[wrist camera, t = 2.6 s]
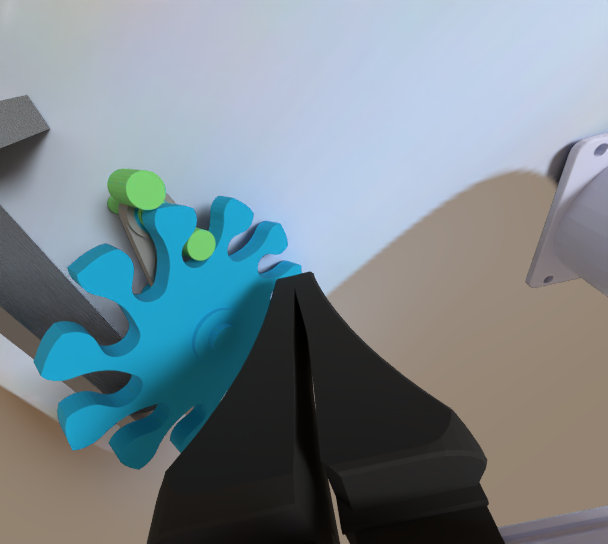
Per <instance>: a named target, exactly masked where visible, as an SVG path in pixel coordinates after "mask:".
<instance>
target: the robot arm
mask: <svg viewBox="0 0 608 544" xmlns="http://www.w3.org/2000/svg"><path fill="white" fill-rule="evenodd" d="M597 147H598V148H597ZM596 148H597V149H596ZM578 278H582V279H584V280H585V281H586V282H588V283H589V284H591V285H592V286H594V287H595V288H596V289H597V290H599V291H600V292H602V293H603V294H604V295H606V296H607V297H608V133H605V134H601V135H596V136H592V137H588V138H585V139H582V140H580V141H579V142H578V143H576V144H575V145H574V146H573V147H572V149H571V151H570V153H569V155H568V158H567V161H566V164H565V167H564V170H563V173H562V176H561V179H560V181H559V184H558V187H557V190H556V193H555V196H554V199H553V202H552V205H551V208H550V211H549V214H548V217H547V219H546V222H545V225H544V228H543V231H542V234H541V237H540V240H539V243H538V246H537V249H536V251H535V254H534V257H533V260H532V263H531V266H530V269H529V272H528V275H527V278H526V283H527V284H528V285H529V286H530V287H532V288H537V287H542V286H546V285H551V284H555V283H560V282H564V281H569V280H573V279H578ZM312 376H313V379H312ZM313 385H314V393H313ZM314 395H315V401H314ZM315 404H316V408H315ZM486 465H487V458H486V457H485V455H484V453H483V451H482V449H481V447H480V446H479V444H478V443H477V441H476V440H475V438H474V437H473V435H472V434H471V432H470V431H469V430H468V429H467V427H466V426H465V424H464V423H463V422H462V421H461V419H460V418H459V417H458V416H457V414H456V413H455V412H454V411H453V410H452V409H451V408H449V407H448V406H446V405H445V404H443V403H442V402H440V401H439V400H437V399H436V398H434V397H433V396H431V395H430V394H428V393H427V392H425V391H424V390H423V389H421V388H420V387H418V386H417V385H416V384H414V383H413V382H411V381H410V380H409V379H408V378H406V377H405V376H403V375H402V374H401V373H400V372H398V371H397V370H396V369H395V368H394V367H392V366H391V365H390V364H389V363H388V362H386V361H385V360H384V359H382V358H381V357H380V356H379V355H378V354H377V353H376V352H374V351H373V350H372V349H371V348H370V347H369V346H368V345H367V344H366V343H365V342H364V341H363V340H362V339H361V338H360V337H359V336H358V335H357V334H356V333H355V332H354V331H353V330H352V329H351V328H350V327H349V326H348V324H347V323H346V322H345V321H344V320H343V319H342V317H341V316H340V315H339V314H338V313H337V311H336V310H335V309H334V307H333V306H332V305H331V303H330V302H329V301H328V299H327V298H326V296H325V295H324V293H323V292H322V290H321V289H320V287H319V285H318V283H317V281H316V279H315V277H314V273H312V272H306V273H301V274H297V275H293V276H288V277H284V278H280V279H277V280H276V282H275V286H274V290H273V294H272V298H271V301H270V304H269V307H268V310H267V313H266V315H265V318H264V321H263V324H262V326H261V328H260V331H259V333H258V335H257V338H256V340H255V342H254V344H253V347H252V349H251V351H250V353H249V355H248V357H247V359H246V360H245V362H244V364H243V366H242V368H241V370H240V371H239V373H238V375H237V376H236V378H235V380H234V381H233V383H232V385H231V386H230V388H229V389H228V391H227V393H226V394H225V396H224V397H223V399H222V400H221V402H220V403H219V404H218V406H217V407H216V409H215V410H214V411H213V413H212V414H211V416H210V417H209V418H208V420H207V421H206V422H205V424H204V425H203V427H202V428H201V429H200V431H199V432H198V433H197V434H196V436H195V437H194V438H193V439H192V441H191V442H190V443H189V444H188V445H187V447H186V448H185V449H184V450H183V452H182V453H181V454H180V455H179V456H178V458H177V459H176V460H175V461H174V463H173V464H172V465H171V466H170V467H169V469H167V471H166V472H165V475H164V479H163V482H162V485H161V488H160V490H159V494H158V498H157V501H156V505H155V510H154V514H153V518H152V523H151V527H150V531H149V536H148V540H147V544H340V541H339V536H338V530H337V525H336V520H335V515H334V509H333V504H332V498H331V493H330V488H329V482H330V484H331V486H332V489H333V491H334V493H335V495H336V500H337V506H338V512H339V518H340V524H341V530H342V534H343V535H344V534H345V535H346V537H347V539H348V540H349V543H350V544H608V506H603V507H598V508H593V509H588V510H583V511H578V512H573V513H568V514H563V515H558V516H553V517H548V518H543V519H538V520H533V521H528V522H523V523H518V524H513V525H508V526H503V527H498V528H497V526H496V524H495V522H494V520H493V518H492V516H491V513H490V512H489V509H488V507H487V505H488V504H489V503H488V499H487V497H486V495H485V493H484V491H483V489H482V487H481V485H480V483H479V481H480V479H481V477H482V475H483V473H484V471H485V469H486ZM328 479H329V482H328Z"/></svg>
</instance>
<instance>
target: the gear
mask: <svg viewBox="0 0 608 544" xmlns="http://www.w3.org/2000/svg"><path fill="white" fill-rule="evenodd" d="M107 186H108V191H109V193H110V195H111V197H110V198H109V199H108V201H107V205H108V208H109V209H110V210H111V211H112V212H113V213H116V214H119V217H120V220H121V222H122V224H123V227H124V229H125V231H126V233H127V236H128V238H129V240H130V242H131V244H132V247H133V249H134V251H135V253H136V256H137V258H138V260H139V262H140V264H141V267H142V269H143V271H144V273H145V276H146V278H147V280H148V282H149V284H148V285H147V286H145V287H144V288H143V290H142V292H141V294H133V292H132V281H133V275H134V266H133V262H132V261H131V259H130V257H129V256H128V255H127V254H126V253H124V252H123V251H121V250H119V249H117V248H115V247H113V246H111V245H109V244H106V243H105V244H102V245H99V246H97V247H95V248H93V249H91V250H89V251H87V252H86V253H85V254H83V255H82V256H80V257H79V258H78V259H77V260H75V261H74V262H73V263H72V264H71V265H70V266H68V267H67V268H68V272H69V274H70V276H71V278H72V279H73V280H74V281H75V282H77V283H78V284H79V285H80V286H81V287H82V288H84V289H85V290H86V291H87V292H89V293H91V294H93V295H98V296H102V297H105V298H108V299H110V300H113V301H115V302H116V303H118V305H119V306H120V308H121V309H122V310H123V312H124V314H125V316H126V318H127V320H128V322H129V330H128V332H127V334H126V336H125V337H124V338H123V339H122V340H121V341H119V342H118V343H116V344H113V345H109V346H102V345H98V343H97V342H96V340H95V339H94V338H93V337H92V336H91V335H90V334H89V333H88V331H87V330H86V329H85V328H84V327H83V326H81V325H80V324H78V323H75V322H70V321H61V322H56V323H54V324H53V325H52V326H51V327H50V328H49V329H48V330H47V332H46V333H45V335H44V336H43V338H42V340H41V342H40V345H39V347H38V349H37V353H36V356H35V359H34V364H35V366H36V368H37V369H38V371H39V373H40V375H41V376H42V377H43V378H45V379H48V380H52V381H63V380H68V379H72V378H74V377H77V376H80V375H83V374H87V373H91V372H95V371H103V370H117V371H122V372H126V373H130V374H132V376H131V379H130V381H129V382H128V384H127V385H126V386H125V387H124V388H123V389H121V390H120V391H118V392H116V393H113V394H101V393H97V392H93V391H81V392H77V393H74V394H72V395H70V396H68V397H66V398H65V399H63V400H62V401H61V402H59V404H58V410H57V413H58V420H59V423H60V426H61V428H62V430H63V432H64V434H65V436H66V438H67V440H68V442H69V444H70V446H71V448H72V450H79V449H81V448H85V447H87V446H89V445H91V444H93V443H94V442H95V441H97V440H98V439H99V438H101V437H102V436H103V435H104V434H105V433H106V432H107V431H108V430H109V429H110V428H111V427H112V426H114V425H115V424H116V423H117V422H119V421H120V420H122V419H123V418H125V417H126V416H128V415H130V414H132V413H134V412H136V411H138V410H141V409H143V408H146V407H149V406H152V405H155V404H158V405H157V407H156V409H155V410H154V411H153V412H152V413H151V414H150V415H148V416H147V417H145V418H142V419H140V420H137V421H134V422H131V423H128V424H126V425H125V426H123V427H122V428H120V429H119V430H118V431H117V432H116V433H115V434H114V435H113V436H112V438H111V439H110V441H109V444H110V446H111V447H112V449H113V451H114V452H115V454H116V455H117V457H118V459H119V460H120V462H121V463H123V464H124V465H125V466H128V467H130V468H134V469H140V468H142V467H143V466H145V465H146V464H147V463H148V462H149V461H150V460H151V459H152V458H153V456H154V455H155V453H156V451H157V449H158V447H159V444H160V443H161V441H162V439H163V438H164V436H165V435H166V433H167V432H168V430H169V429H170V428H171V427H172V426H173V425H174V423H175V422H176V421H177V420H178V419H179V418H181V417H182V416H183V415H184V414H185V413H186V412H187V411H189V410H190V409H191V408H192V407H194V408H193V409H192V410H191V412H190V413H189V414H187V415H186V416H185V417H184V418H183V419H182V420H180V421H179V422H178V423H177V425H176V426H175V427H174V429H173V430H172V433H171V436H170V441H171V442H172V443H173V444H174V446H175V447H176V448H177V449H178V450H179V452H180V453H182V452H183V450H184V449H185V448H186V447H187V445H188V444H189V443H190V442H191V441H192V439H193V438H194V437H195V436H196V434H197V433H198V432H199V431H200V429H201V428H202V427H203V425H204V424H205V422H206V421H207V420H208V418H209V417H210V416H211V414H212V413H213V411H214V410H215V409H216V407H217V406H218V404H219V403H220V401H221V399H222V398H223V396H224V394H225V393H227V392H226V391H227V390H228V389H229V388H230V386H231V385H232V383H233V381H234V380H235V378H236V376H237V375H238V373H239V371H240V370H241V368H242V366H243V364H244V362H245V360H246V359H247V357H248V355H249V353H250V351H251V349H252V347H253V344H254V342H255V340H256V338H257V335H258V333H259V331H260V328H261V326H262V324H263V321H264V318H265V315H266V313H267V310H268V307H269V304H270V301H271V300H270V298H271V293H272V291H273V289H274V286H275V282H276V280H277V279H280V278H284V277H288V276H293V275H297V274H301V273H302V272H301V265H299V264H295V263H292V262H289V261H282V262H280V263H279V264H278V265H277V266H276V267H274V268H273V269H272V270H270V271H268V272H264V273H258V263H259V261H260V259H261V258H262V257H263V256H264V255H266V254H275V255H276V254H281V253H282V252H283V251H284V250H285V249H286V247H287V245H288V242H287V237H286V234H285V232H284V230H283V228H282V226H281V224H280V223H275V222H270V221H263V222H261V223H260V224H259V225H258V226H257V228H256V230H255V232H254V234H253V236H252V238H251V239H250V241H249V242H248V243H247V244H246V245H245V246H244V247H243V248H242V249H240V250H239V251H237V252H236V253H234V254H232V255H230V256H228V252H227V248H228V244H229V242H230V240H231V239H232V238H233V237H234V236H236V235H238V234H240V233H242V232H244V231H246V230H247V229H248V228H249V227H250V225H251V223H252V220H253V214H254V213H253V212H252V211H251V209H250V208H249V207H248V206H246V205H245V204H243V203H242V202H240V201H238V200H236V199H234V198H230V197H223V196H218V197H217V198H215V200H214V201H213V203H212V205H211V209H210V226H209V230H208V231H207V230H204V229H200V228H197V227H196V224H197V217H196V213H195V211H194V209H193V208H190V207H187V206H182V205H178V204H175V202H174V201H173V199H172V198H171V197H170V196H169V195H168V194H166V189H165V185H164V183H163V181H162V180H161V178H160V177H159V176H158V175H156V174H155V173H153V172H150V171H145V170H133V169H119V170H116V171H114V172H113V173H112V174H111V175H110V177H109V179H108V184H107ZM191 258H192V259H191Z"/></svg>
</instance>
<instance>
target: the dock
mask: <svg viewBox="0 0 608 544" xmlns="http://www.w3.org/2000/svg"><path fill="white" fill-rule="evenodd" d="M48 129H50V128H49V127H48V125H47V124H46V122H45V121H44V119H43V118H42V116H41V115H40V113H39V112H38V110H37V109H36V107H35V106H34V104H33V103H32V102H31V100H30V99H29V97H28V96H27V95H25V96H20V97H16V98H11V99H6V100H2V101H0V148H2V147H5V146H7V145H10V144H12V143H15V142H17V141H20V140H22V139H25V138H27V137H30V136H33V135H35V134H38V133H40V132H43V131H45V130H48ZM61 321H70V322H75V323H78V324H80V325H81V326H83V327H84V328H85V329H86V330H87V331H88V333H89V334H90V335H91V336H92V337H93V338H94V339H95V340H96V342H97V343H98V345H102V346H109V345H113V344H116V343H118V342H119V341H121V340H122V338H121V337H120V336H119V335H118V334H117V333H116V332H115V331H114V330H113V329H112V328H111V326H110V325H109V324H108V323H107V322H106V321H105V320H104V319H103V318H102V317H101V315H100V314H99V313H98V312H97V311H96V310H95V309H94V308H93V307H92V306H91V304H90V303H89V302H88V301H87V300H86V299H85V298H84V297H83V296H82V295H81V294H80V292H79V291H78V290H77V289H76V288H75V287H74V286H73V285H72V284H71V283H70V281H69V280H68V279H67V278H66V277H65V276H64V275H63V274H62V273H61V272H60V270H59V269H58V268H57V267H56V266H55V265H54V264H53V263H52V262H51V261H50V260H49V258H48V257H47V256H46V255H45V254H44V253H43V252H42V251H41V250H40V249H39V247H38V246H37V245H36V244H35V243H34V242H33V241H32V240H31V239H30V238H29V236H28V235H27V234H26V233H25V232H24V231H23V230H22V229H21V228H20V227H19V226H18V224H17V223H16V222H15V221H14V220H13V219H12V218H11V217H10V216H9V215H8V213H7V212H6V211H5V210H4V209H3V208H2V207H1V206H0V333H1V334H2V335H3V336H5V337H6V338H7V339H8V340H10V341H11V342H12V343H14V344H15V345H16V346H17V347H19V348H20V349H21V350H23V351H24V352H25V353H26V354H28V355H29V356H30V357H32V358H33V359H35V356H36V353H37V349H38V347H39V345H40V342H41V340H42V338H43V336H44V335H45V333H46V332H47V330H48V329H49V328H50V327H51V326H52V325H53V324H54V323H56V322H61ZM131 376H132V374H130V373H126V372H122V371H117V370H103V371H95V372H91V373H87V374H83V375H80V376H77V377H74V378H72V379H68V380H63V381H62V382H64V383H65V384H66V385H68V386H69V387H70V388H71V389H73V390H74V391H75V392H81V391H93V392H97V393H101V394H113V393H116V392H118V391H120V390H121V389H123V388H124V387H125V386H126V385H127V384H128V382H129V381H130V379H131ZM157 405H158V404H155V405H152V406H149V407H146V408H143V409H141V410H138V411H136V412H134V413H132V414H130V415H128V416H126V417H125V418H123V419H122V420H120V421H119V422H117V423H116V424H118V425H119V426H120V427H123V426H125V425H126V424H128V423H131V422H134V421H137V420H140V419H142V418H145V417H147V416H148V415H150V414H151V413H152V412H153V411H154V410H155V409H156V407H157ZM193 408H194V407H192V408H191V409H190V410H189V411H187V412H186V413H185V414H188V413H190V412H191V410H192V409H193Z"/></svg>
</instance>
